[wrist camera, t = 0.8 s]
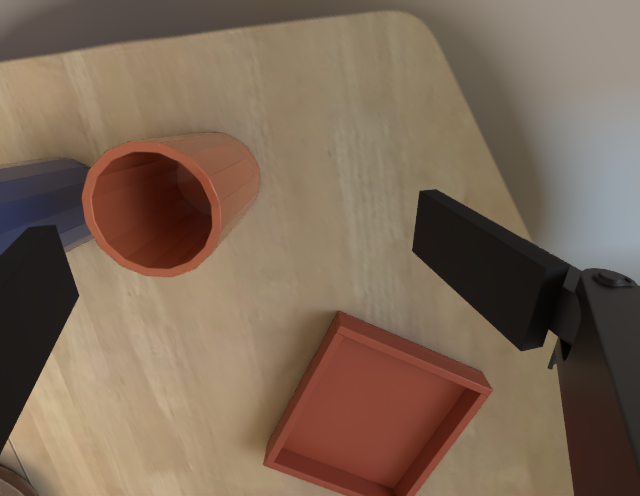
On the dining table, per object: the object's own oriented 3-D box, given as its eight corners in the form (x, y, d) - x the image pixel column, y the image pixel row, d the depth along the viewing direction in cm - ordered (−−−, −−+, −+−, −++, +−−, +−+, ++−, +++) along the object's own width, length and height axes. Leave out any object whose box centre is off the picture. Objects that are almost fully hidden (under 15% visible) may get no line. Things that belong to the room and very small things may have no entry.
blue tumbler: (34, 142, 30) (-143, 157, 19) (120, 180, 31) (0, 216, 20) (18, 220, 32) (-151, 276, 21) (99, 254, 33) (-21, 325, 22)
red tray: (338, 310, 34) (339, 325, 32) (482, 371, 36) (493, 390, 34) (267, 443, 39) (262, 465, 37) (395, 491, 41) (399, 515, 39)
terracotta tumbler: (189, 116, 29) (101, 116, 18) (274, 156, 30) (241, 179, 19) (162, 198, 31) (68, 244, 20) (241, 233, 32) (195, 296, 21)
